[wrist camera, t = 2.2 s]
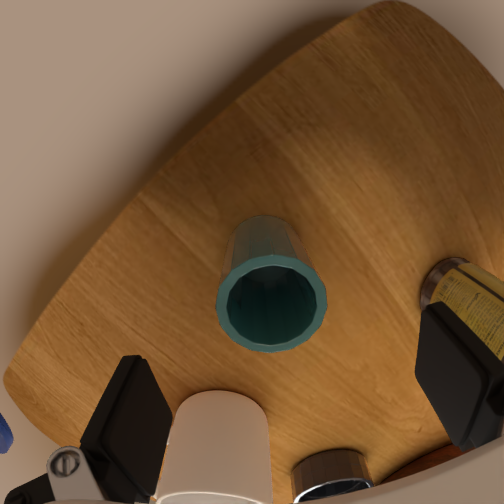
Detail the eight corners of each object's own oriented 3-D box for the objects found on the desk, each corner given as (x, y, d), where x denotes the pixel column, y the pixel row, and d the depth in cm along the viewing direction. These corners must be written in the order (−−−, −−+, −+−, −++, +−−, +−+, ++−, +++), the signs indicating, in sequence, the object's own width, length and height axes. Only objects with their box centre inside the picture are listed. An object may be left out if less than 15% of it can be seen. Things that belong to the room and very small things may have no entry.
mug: (131, 387, 26) (95, 479, 16) (263, 382, 25) (269, 490, 15) (158, 443, 29) (139, 525, 18) (271, 440, 28) (277, 530, 18)
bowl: (294, 489, 32) (297, 516, 28) (286, 456, 29) (289, 488, 25) (362, 475, 32) (369, 501, 27) (366, 439, 29) (377, 469, 25)
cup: (235, 290, 23) (229, 359, 15) (219, 222, 21) (203, 266, 13) (304, 277, 22) (330, 342, 15) (294, 208, 21) (321, 245, 13)
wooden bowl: (412, 430, 29) (443, 497, 19) (515, 420, 31) (542, 460, 22) (322, 519, 36) (330, 568, 27) (430, 504, 39) (444, 541, 29)
